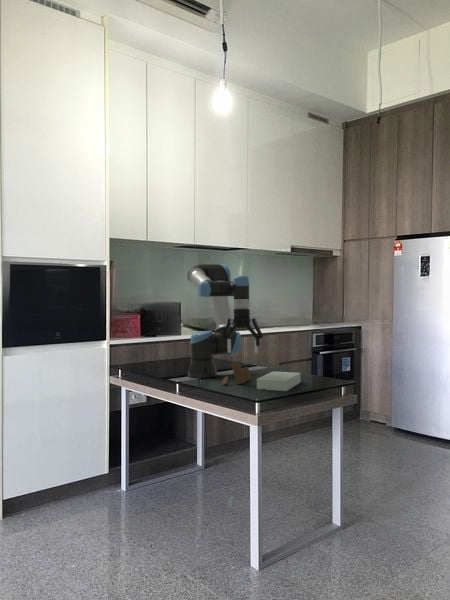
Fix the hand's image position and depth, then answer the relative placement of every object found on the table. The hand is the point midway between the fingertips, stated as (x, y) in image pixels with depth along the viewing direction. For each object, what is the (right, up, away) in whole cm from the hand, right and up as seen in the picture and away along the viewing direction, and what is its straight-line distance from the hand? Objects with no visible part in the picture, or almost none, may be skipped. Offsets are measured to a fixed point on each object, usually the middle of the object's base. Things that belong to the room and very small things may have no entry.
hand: (242, 352), depth 238 cm
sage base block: (+17, -15, -6) cm, 23 cm away
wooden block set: (-1, -15, +2) cm, 15 cm away
